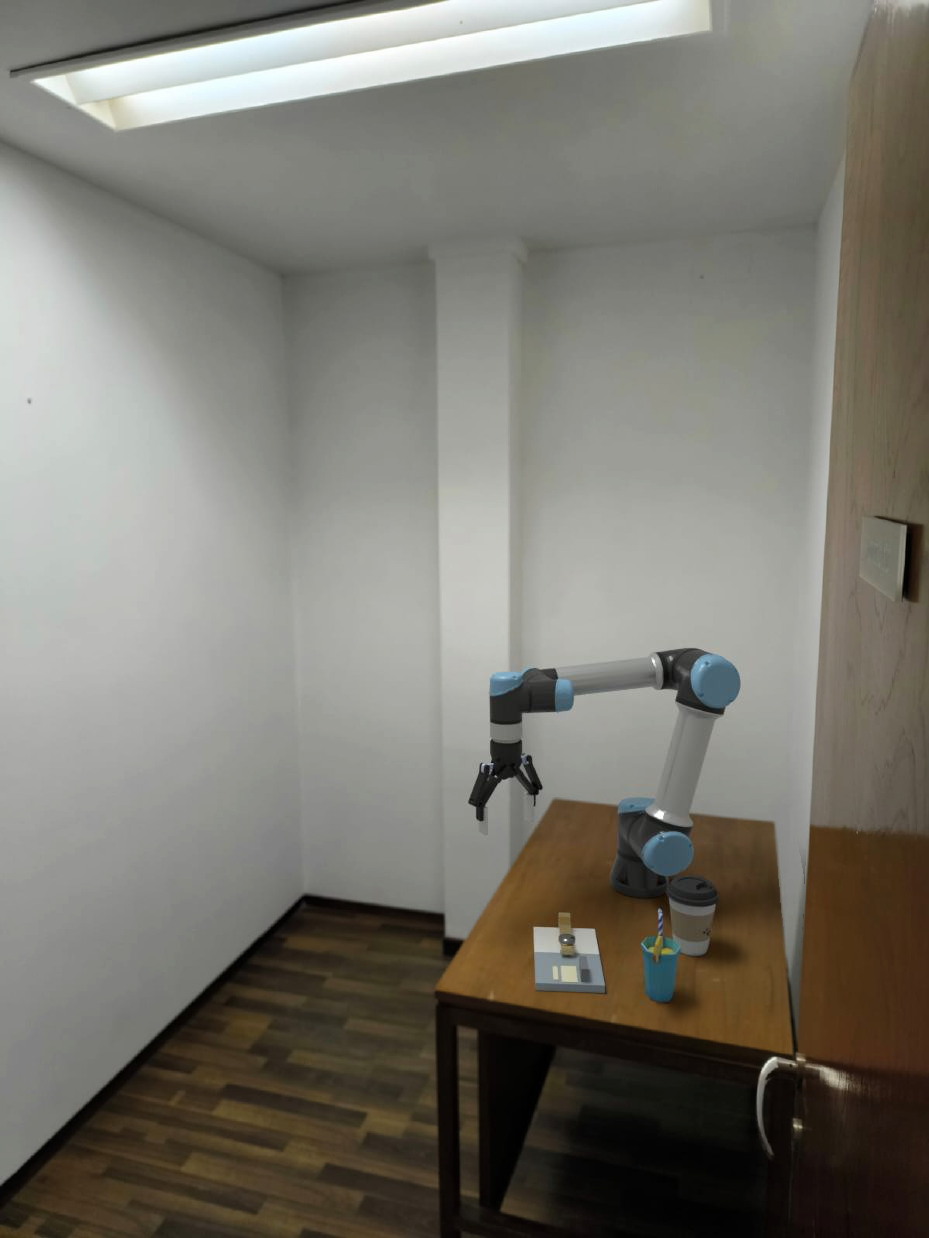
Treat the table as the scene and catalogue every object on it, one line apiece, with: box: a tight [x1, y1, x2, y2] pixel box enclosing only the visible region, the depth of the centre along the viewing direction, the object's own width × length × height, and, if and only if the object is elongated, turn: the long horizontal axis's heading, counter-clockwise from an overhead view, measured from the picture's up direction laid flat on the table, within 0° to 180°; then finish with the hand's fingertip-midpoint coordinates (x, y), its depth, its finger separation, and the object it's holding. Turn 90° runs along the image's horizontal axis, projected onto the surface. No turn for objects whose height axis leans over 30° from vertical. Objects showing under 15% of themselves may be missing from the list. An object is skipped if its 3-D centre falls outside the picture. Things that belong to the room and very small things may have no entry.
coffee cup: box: [665, 874, 720, 957], centre depth 181 cm, size 11×11×15 cm
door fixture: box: [533, 926, 606, 994], centre depth 176 cm, size 14×23×4 cm, turn 176°
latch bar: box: [557, 911, 575, 955], centre depth 180 cm, size 13×4×3 cm, turn 176°
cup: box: [640, 908, 681, 1003], centre depth 163 cm, size 14×8×15 cm, turn 168°
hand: (506, 826), depth 191 cm, fingers open, 13 cm apart
